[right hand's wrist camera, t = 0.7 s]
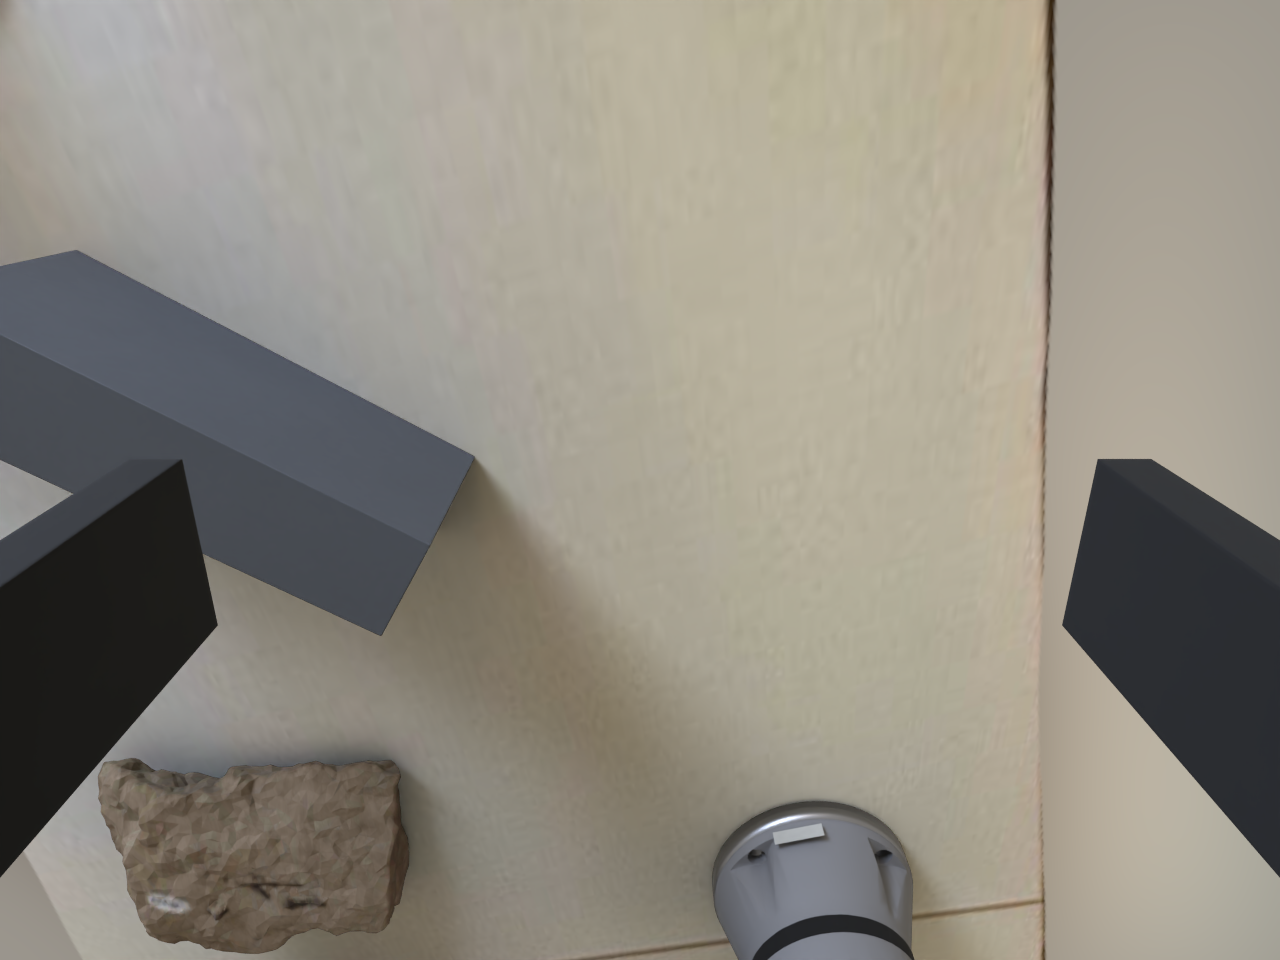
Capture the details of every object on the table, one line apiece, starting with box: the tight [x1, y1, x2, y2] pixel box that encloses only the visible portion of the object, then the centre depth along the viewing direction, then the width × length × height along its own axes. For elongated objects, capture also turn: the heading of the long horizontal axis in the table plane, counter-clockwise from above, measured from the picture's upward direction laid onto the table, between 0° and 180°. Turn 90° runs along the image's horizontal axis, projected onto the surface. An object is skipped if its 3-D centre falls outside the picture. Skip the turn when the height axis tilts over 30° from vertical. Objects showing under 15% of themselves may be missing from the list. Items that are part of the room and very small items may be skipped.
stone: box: [98, 758, 409, 954], centre depth 63 cm, size 21×15×6 cm
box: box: [0, 250, 475, 636], centre depth 47 cm, size 26×6×12 cm, turn 60°
